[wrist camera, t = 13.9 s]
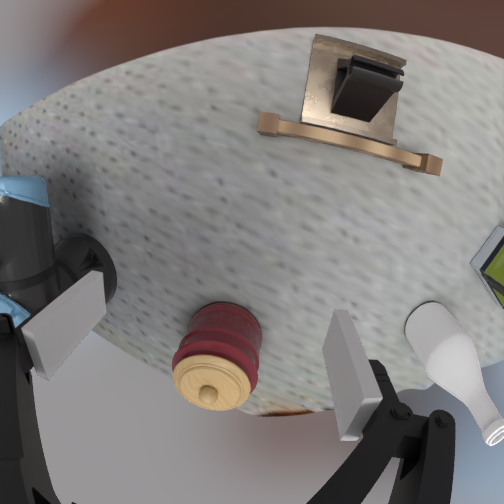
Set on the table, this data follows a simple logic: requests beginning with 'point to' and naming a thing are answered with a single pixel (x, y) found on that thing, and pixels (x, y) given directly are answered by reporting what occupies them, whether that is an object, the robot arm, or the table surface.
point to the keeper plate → (323, 88)
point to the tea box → (492, 265)
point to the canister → (218, 357)
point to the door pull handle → (348, 143)
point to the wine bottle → (453, 364)
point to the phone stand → (363, 87)
